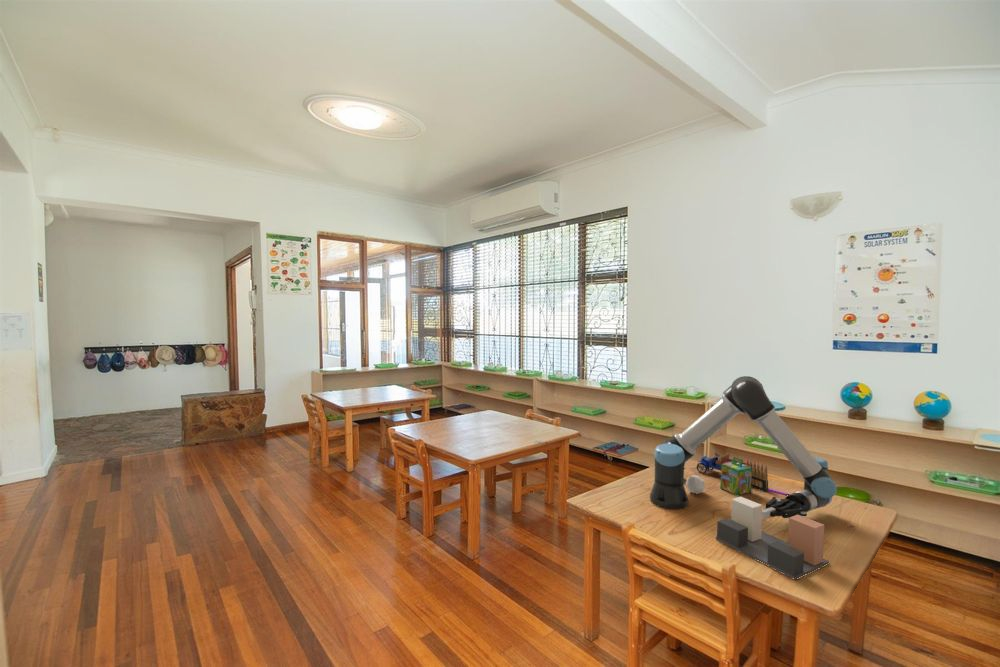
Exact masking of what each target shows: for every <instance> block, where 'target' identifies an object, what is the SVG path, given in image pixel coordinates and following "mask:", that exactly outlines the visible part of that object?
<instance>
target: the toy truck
mask: <svg viewBox="0 0 1000 667" xmlns="http://www.w3.org/2000/svg"><path fill="white" fill-rule="evenodd" d="M714 455H715V456H714V457H707V456H705V455H704V456H702V457H701V459H700V460H698V461H697V464H696V470H697V471H698V473H699V474H702V473H703V475H704V474H706V473H707V472H712V473H716V474H718V475H721V464H724V463H730V462H732V461H733V458H732V459H731V458H730V453H727V454H725V455H722V456H720V454H719V453H717V452H715V453H714ZM735 462H738V463H740V462H739V461H738V460H736V461H735ZM742 464H744V465H746V462H743V463H742ZM752 468H753V464H752ZM716 470H717V471H716Z"/></svg>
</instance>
